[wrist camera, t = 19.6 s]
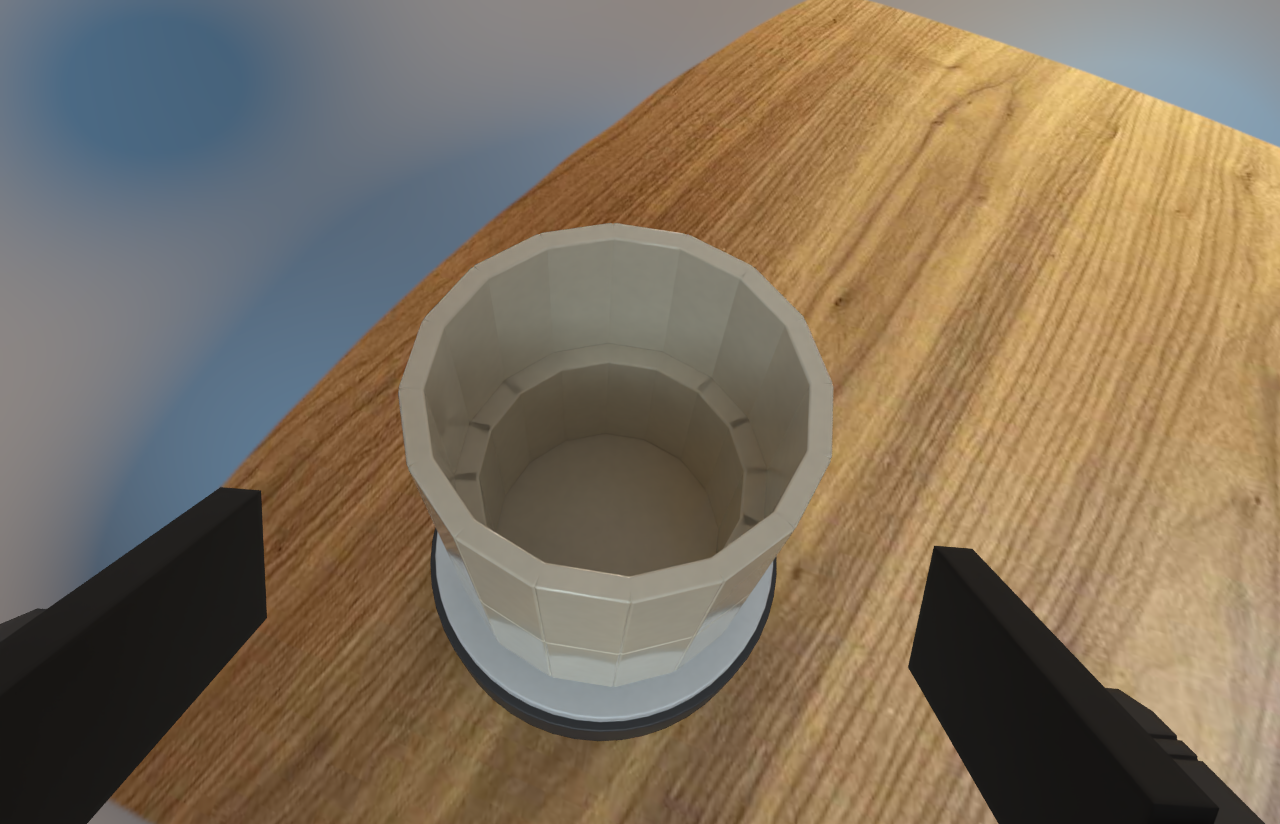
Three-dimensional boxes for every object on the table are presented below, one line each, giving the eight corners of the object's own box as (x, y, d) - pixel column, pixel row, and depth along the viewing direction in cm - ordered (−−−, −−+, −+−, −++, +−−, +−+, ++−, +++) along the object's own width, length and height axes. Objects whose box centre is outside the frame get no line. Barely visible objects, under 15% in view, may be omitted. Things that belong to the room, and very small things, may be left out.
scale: (466, 783, 27) (452, 775, 24) (424, 460, 33) (408, 420, 30) (806, 692, 29) (833, 674, 26) (709, 405, 35) (722, 363, 32)
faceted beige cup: (487, 724, 25) (428, 651, 15) (446, 444, 30) (380, 254, 20) (786, 647, 27) (902, 540, 17) (702, 395, 31) (754, 200, 22)
